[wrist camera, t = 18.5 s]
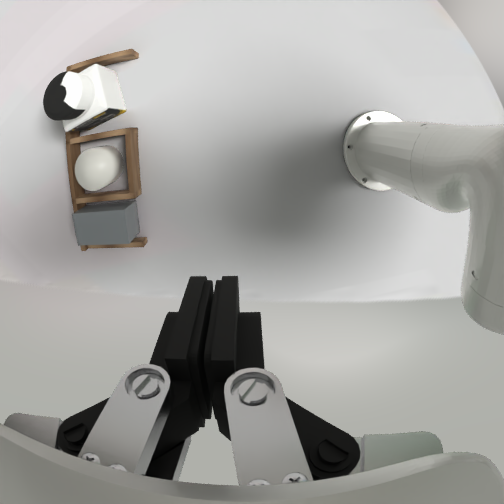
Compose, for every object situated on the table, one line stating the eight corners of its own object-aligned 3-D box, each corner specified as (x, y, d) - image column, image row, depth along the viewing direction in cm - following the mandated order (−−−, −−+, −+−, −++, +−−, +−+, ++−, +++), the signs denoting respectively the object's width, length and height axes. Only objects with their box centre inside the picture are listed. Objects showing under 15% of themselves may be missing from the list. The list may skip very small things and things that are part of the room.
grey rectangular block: (136, 200, 39) (124, 209, 35) (139, 231, 41) (129, 243, 37) (87, 204, 39) (72, 213, 34) (92, 233, 41) (78, 245, 36)
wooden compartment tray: (138, 53, 30) (131, 48, 27) (147, 241, 42) (141, 249, 39) (76, 69, 29) (66, 66, 26) (89, 243, 41) (81, 251, 39)
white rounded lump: (122, 142, 35) (108, 145, 31) (125, 181, 38) (112, 188, 33) (89, 148, 35) (73, 151, 30) (92, 185, 38) (77, 193, 33)
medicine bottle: (88, 130, 34) (43, 135, 23) (78, 91, 31) (32, 86, 20) (127, 111, 33) (88, 107, 22) (117, 70, 30) (77, 55, 20)
